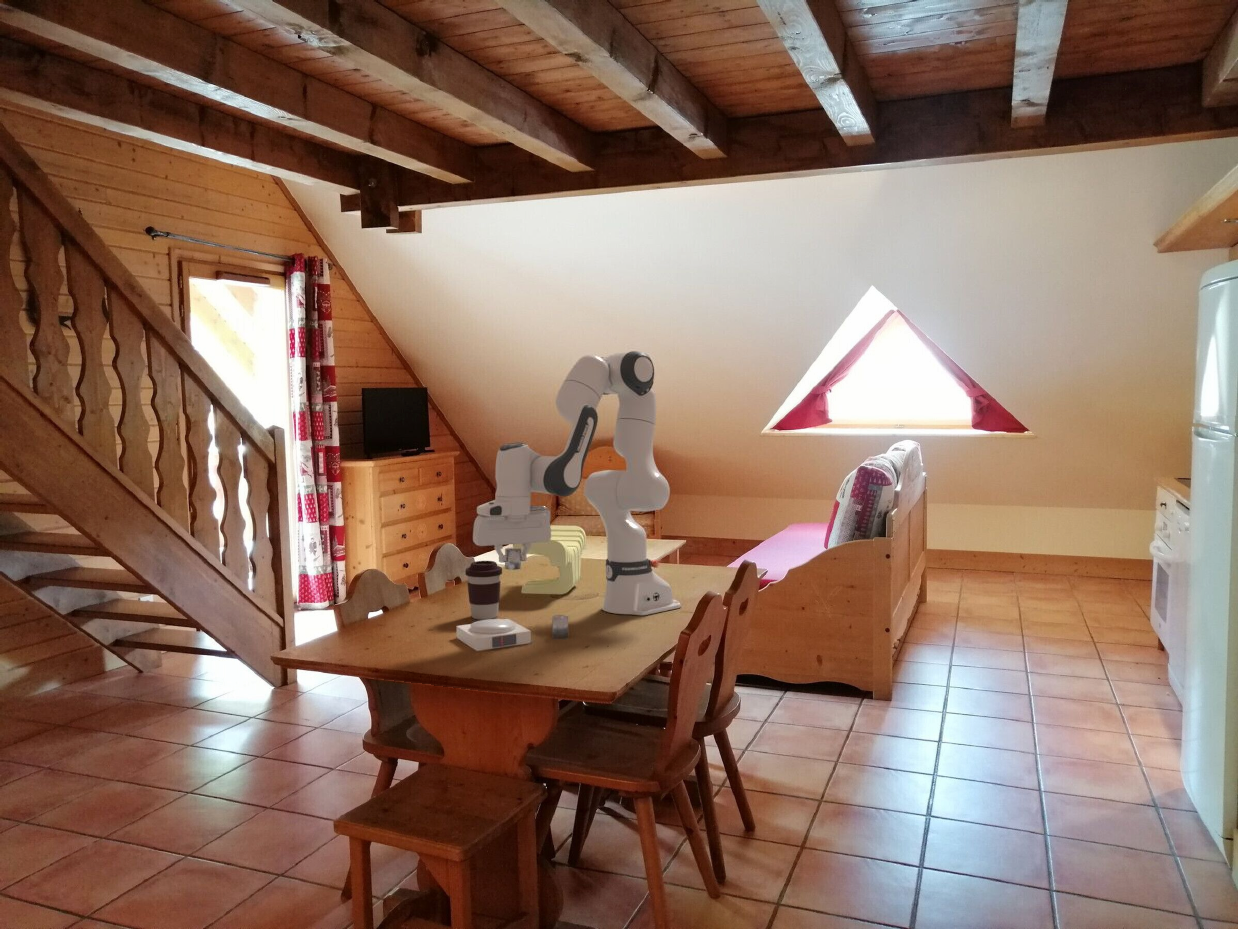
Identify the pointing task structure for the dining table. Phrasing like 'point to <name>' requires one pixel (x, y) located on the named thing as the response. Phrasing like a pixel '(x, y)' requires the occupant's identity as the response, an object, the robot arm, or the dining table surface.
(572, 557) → the slatted curved stool
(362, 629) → the dining table surface
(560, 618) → the cylinder
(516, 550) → the cylinder
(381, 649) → the dining table surface
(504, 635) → the scale
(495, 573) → the coffee cup
